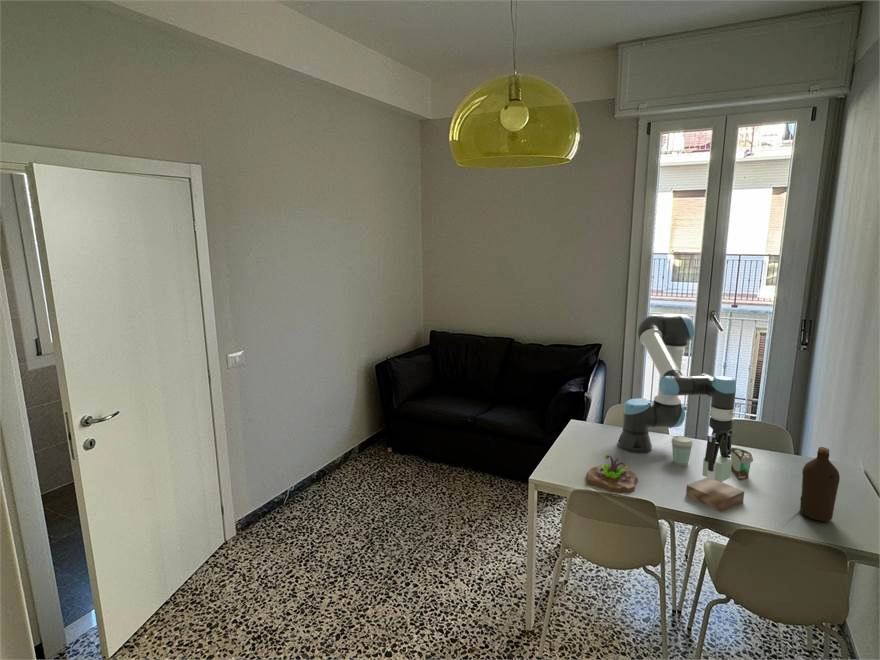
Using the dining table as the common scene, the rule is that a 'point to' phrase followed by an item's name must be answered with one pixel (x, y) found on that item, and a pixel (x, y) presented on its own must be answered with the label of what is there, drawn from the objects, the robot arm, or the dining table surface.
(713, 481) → the walnut block
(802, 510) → the brown bottle
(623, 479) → the plant
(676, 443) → the coffee cup
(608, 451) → the dining table surface
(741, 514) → the dining table surface
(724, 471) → the sage cube
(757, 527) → the dining table surface
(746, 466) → the food container
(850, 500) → the dining table surface
